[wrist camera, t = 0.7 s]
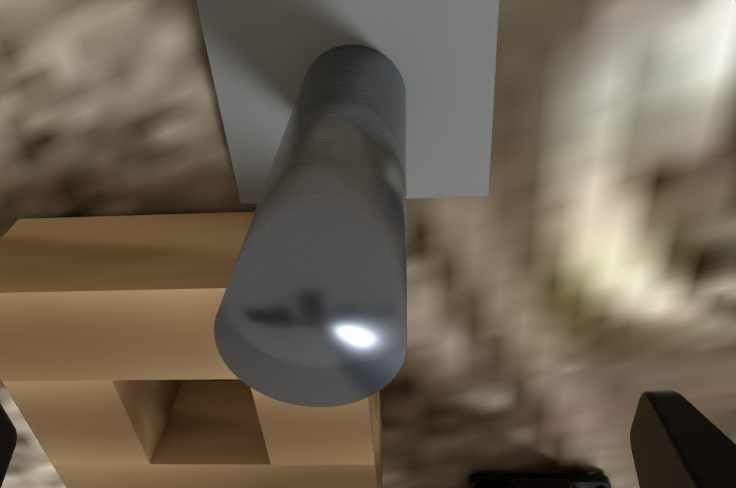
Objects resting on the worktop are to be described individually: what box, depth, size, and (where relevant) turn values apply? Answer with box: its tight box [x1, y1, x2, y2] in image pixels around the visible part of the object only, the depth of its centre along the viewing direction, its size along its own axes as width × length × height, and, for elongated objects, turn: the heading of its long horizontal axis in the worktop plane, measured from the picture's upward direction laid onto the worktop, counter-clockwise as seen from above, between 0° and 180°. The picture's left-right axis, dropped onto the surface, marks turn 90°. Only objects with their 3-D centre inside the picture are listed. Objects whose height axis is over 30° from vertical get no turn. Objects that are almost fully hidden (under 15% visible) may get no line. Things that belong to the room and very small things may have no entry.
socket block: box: [0, 212, 383, 488], centre depth 23 cm, size 12×12×4 cm
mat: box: [196, 0, 499, 204], centre depth 18 cm, size 7×8×1 cm
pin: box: [214, 45, 407, 407], centre depth 14 cm, size 3×3×10 cm
